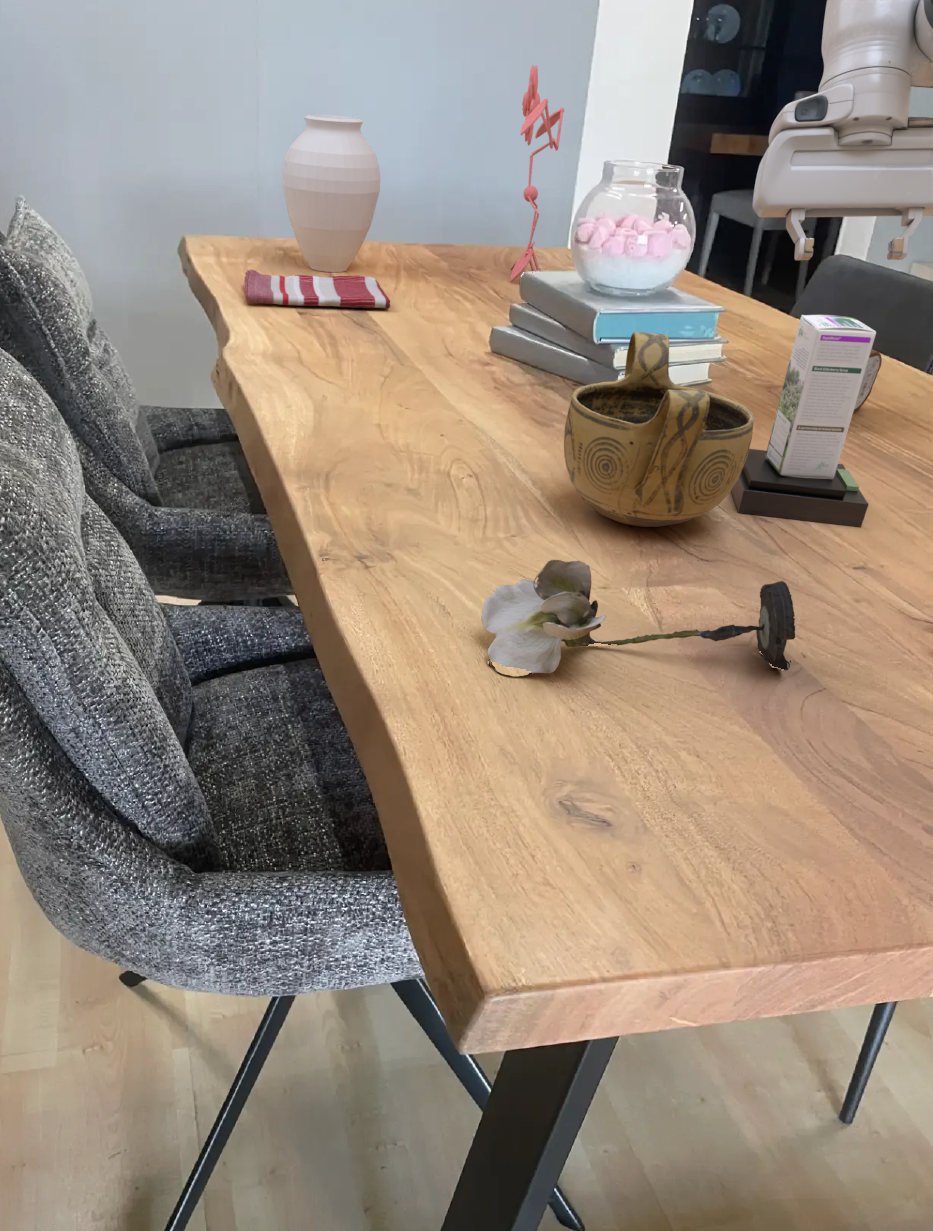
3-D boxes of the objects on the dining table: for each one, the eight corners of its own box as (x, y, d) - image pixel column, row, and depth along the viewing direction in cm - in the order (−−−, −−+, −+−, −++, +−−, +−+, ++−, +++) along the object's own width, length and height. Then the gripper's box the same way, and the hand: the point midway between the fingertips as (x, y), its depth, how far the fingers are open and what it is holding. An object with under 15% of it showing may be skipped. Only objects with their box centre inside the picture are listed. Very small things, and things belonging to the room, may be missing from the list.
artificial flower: (795, 712, 76) (829, 609, 68) (481, 714, 78) (481, 614, 70) (772, 626, 82) (801, 523, 74) (481, 630, 84) (480, 530, 76)
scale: (836, 485, 114) (845, 456, 112) (861, 527, 104) (871, 496, 102) (723, 472, 115) (731, 444, 113) (738, 512, 105) (746, 482, 103)
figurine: (546, 269, 215) (575, 67, 195) (540, 293, 193) (571, 68, 174) (472, 261, 216) (493, 60, 197) (457, 284, 195) (479, 61, 176)
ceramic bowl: (543, 469, 112) (566, 322, 104) (702, 482, 112) (737, 336, 104) (563, 555, 93) (592, 383, 85) (754, 570, 93) (801, 400, 85)
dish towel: (243, 284, 182) (243, 267, 181) (377, 290, 186) (378, 273, 184) (245, 306, 168) (245, 288, 167) (390, 311, 172) (391, 294, 170)
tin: (848, 403, 143) (868, 339, 138) (871, 409, 141) (892, 344, 136) (796, 422, 133) (815, 354, 129) (819, 429, 132) (839, 360, 127)
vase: (280, 257, 206) (282, 109, 192) (370, 261, 208) (378, 116, 195) (282, 274, 191) (284, 116, 178) (379, 279, 194) (388, 123, 180)
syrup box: (835, 480, 106) (882, 329, 98) (777, 476, 105) (819, 325, 98) (816, 461, 110) (859, 316, 102) (761, 457, 110) (799, 312, 102)
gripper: (954, 129, 111) (941, 267, 112) (754, 133, 113) (744, 267, 115) (981, 101, 104) (967, 247, 106) (768, 105, 107) (758, 248, 108)
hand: (850, 258), depth 110 cm, fingers open, 8 cm apart
